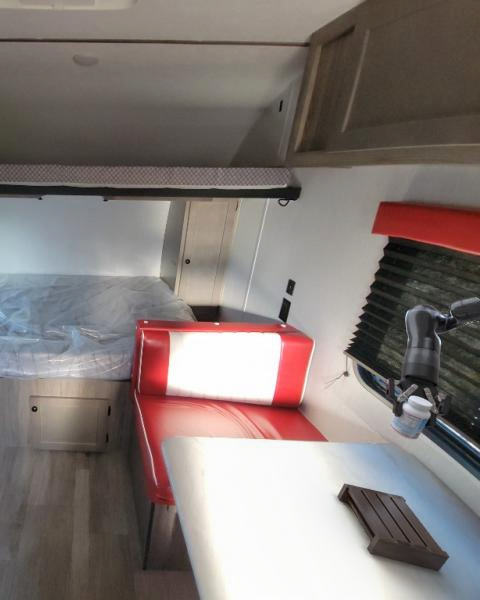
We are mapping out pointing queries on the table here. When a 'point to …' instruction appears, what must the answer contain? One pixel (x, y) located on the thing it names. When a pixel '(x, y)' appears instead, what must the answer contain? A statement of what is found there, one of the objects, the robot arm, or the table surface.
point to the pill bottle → (412, 418)
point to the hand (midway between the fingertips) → (413, 421)
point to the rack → (393, 527)
